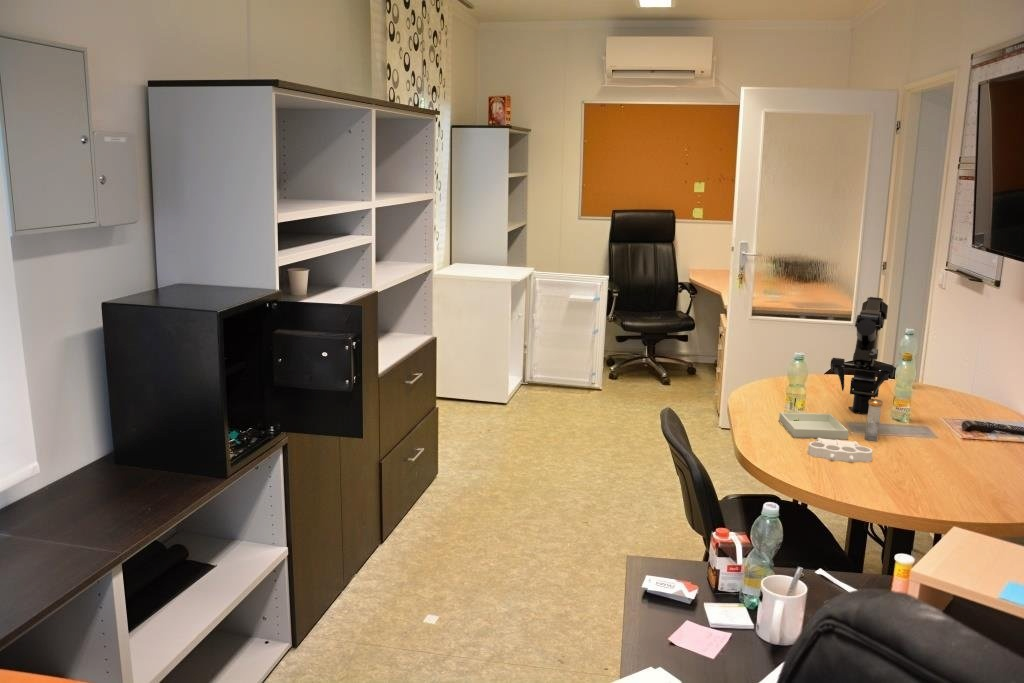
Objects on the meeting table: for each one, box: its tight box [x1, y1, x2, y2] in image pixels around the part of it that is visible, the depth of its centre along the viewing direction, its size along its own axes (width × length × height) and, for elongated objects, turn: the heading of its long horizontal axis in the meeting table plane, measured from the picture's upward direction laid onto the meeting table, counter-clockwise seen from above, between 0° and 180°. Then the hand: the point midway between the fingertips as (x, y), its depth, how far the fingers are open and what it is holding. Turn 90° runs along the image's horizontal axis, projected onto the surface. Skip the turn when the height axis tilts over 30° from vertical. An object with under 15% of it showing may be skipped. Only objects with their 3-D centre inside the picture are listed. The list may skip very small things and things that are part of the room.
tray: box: [778, 411, 850, 440], centre depth 267 cm, size 17×17×3 cm
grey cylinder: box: [864, 398, 883, 442], centre depth 257 cm, size 4×4×13 cm
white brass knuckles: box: [807, 438, 874, 463], centre depth 246 cm, size 3×18×15 cm
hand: (858, 392), depth 260 cm, fingers open, 9 cm apart
